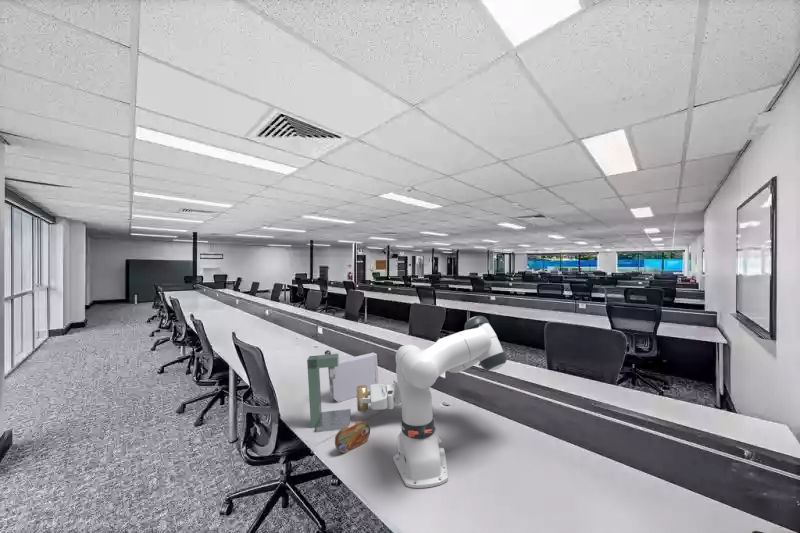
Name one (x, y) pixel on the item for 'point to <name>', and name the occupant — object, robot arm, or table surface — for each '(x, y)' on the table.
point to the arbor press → (317, 417)
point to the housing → (360, 394)
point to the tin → (352, 436)
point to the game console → (353, 376)
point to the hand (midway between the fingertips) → (360, 397)
